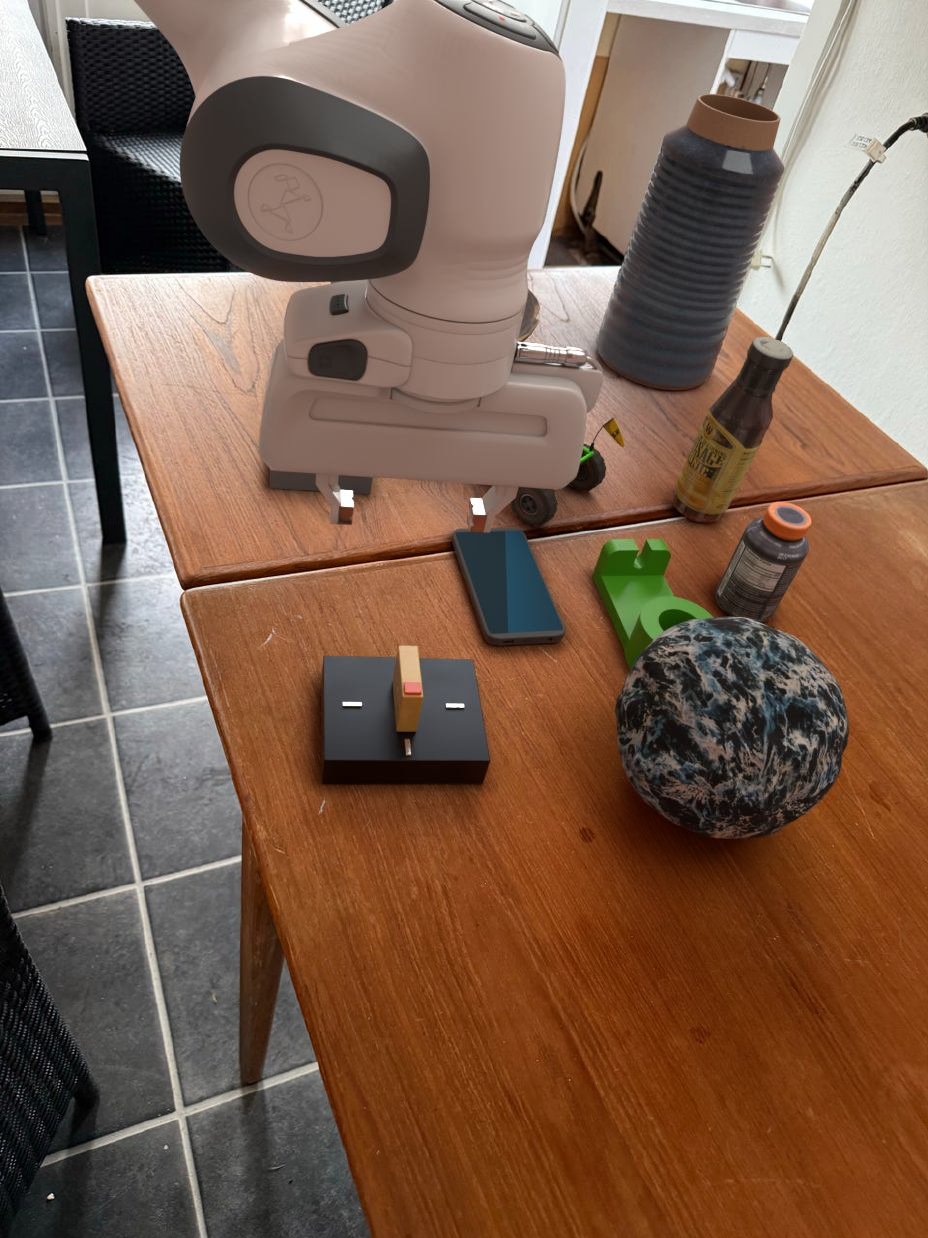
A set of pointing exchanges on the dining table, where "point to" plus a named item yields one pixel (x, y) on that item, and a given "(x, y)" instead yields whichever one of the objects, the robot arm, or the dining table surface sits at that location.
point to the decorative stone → (730, 727)
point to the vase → (692, 244)
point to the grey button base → (309, 482)
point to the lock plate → (366, 724)
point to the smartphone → (507, 587)
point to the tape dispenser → (640, 593)
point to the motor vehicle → (542, 503)
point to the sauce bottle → (731, 434)
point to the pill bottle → (764, 563)
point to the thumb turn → (407, 689)
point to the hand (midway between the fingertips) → (410, 523)
